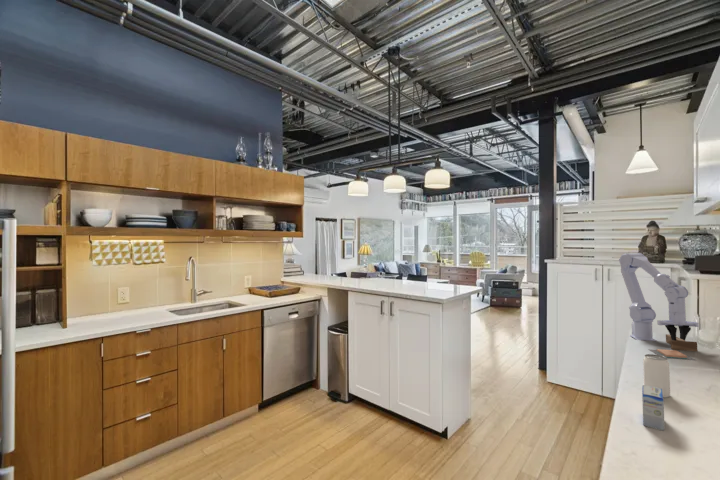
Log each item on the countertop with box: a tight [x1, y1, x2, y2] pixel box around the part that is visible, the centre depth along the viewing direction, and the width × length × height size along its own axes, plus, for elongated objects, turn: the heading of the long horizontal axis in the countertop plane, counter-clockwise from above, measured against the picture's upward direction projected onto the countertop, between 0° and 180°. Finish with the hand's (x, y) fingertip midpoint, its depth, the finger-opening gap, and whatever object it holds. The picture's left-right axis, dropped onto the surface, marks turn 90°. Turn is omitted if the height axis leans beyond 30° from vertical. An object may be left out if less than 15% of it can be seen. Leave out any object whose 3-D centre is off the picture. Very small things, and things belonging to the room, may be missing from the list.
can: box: [642, 353, 671, 399], centre depth 112 cm, size 6×6×12 cm
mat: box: [648, 348, 696, 361], centre depth 149 cm, size 12×12×1 cm
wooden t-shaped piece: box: [665, 333, 698, 352], centre depth 160 cm, size 13×9×4 cm
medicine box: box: [641, 384, 665, 431], centre depth 94 cm, size 8×4×9 cm, turn 141°
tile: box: [656, 348, 688, 360], centre depth 148 cm, size 1×7×8 cm
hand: (678, 341), depth 159 cm, fingers closed on wooden t-shaped piece, 2 cm apart
